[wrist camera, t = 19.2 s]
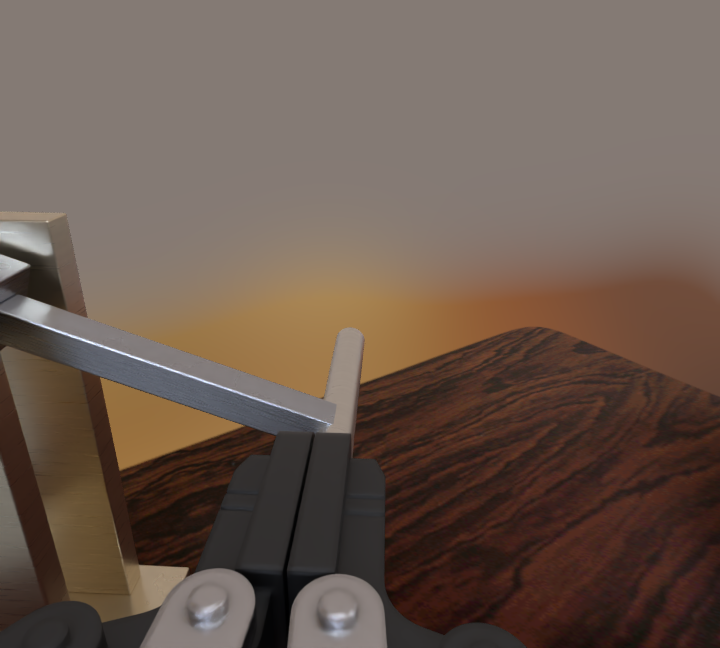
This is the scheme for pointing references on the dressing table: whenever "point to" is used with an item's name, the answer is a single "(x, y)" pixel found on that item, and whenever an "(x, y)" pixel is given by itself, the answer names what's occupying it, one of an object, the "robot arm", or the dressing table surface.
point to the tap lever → (178, 366)
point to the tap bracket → (62, 462)
